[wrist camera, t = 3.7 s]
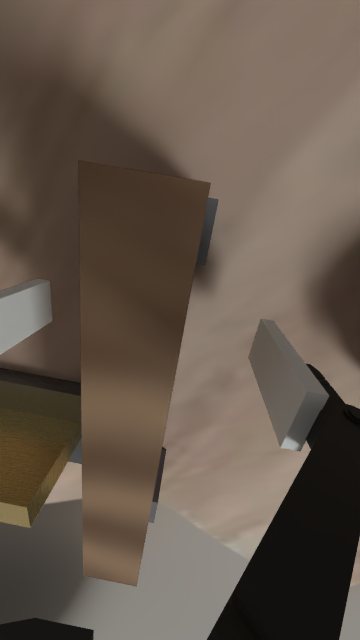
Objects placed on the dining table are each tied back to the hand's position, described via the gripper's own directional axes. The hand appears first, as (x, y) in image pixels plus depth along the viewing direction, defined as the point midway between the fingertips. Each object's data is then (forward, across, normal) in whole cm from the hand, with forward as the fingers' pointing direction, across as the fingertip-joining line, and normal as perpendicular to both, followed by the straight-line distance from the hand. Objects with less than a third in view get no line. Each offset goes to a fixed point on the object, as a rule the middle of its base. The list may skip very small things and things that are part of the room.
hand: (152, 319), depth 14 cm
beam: (-1, 0, -6) cm, 6 cm away
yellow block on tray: (+4, -12, -14) cm, 19 cm away
